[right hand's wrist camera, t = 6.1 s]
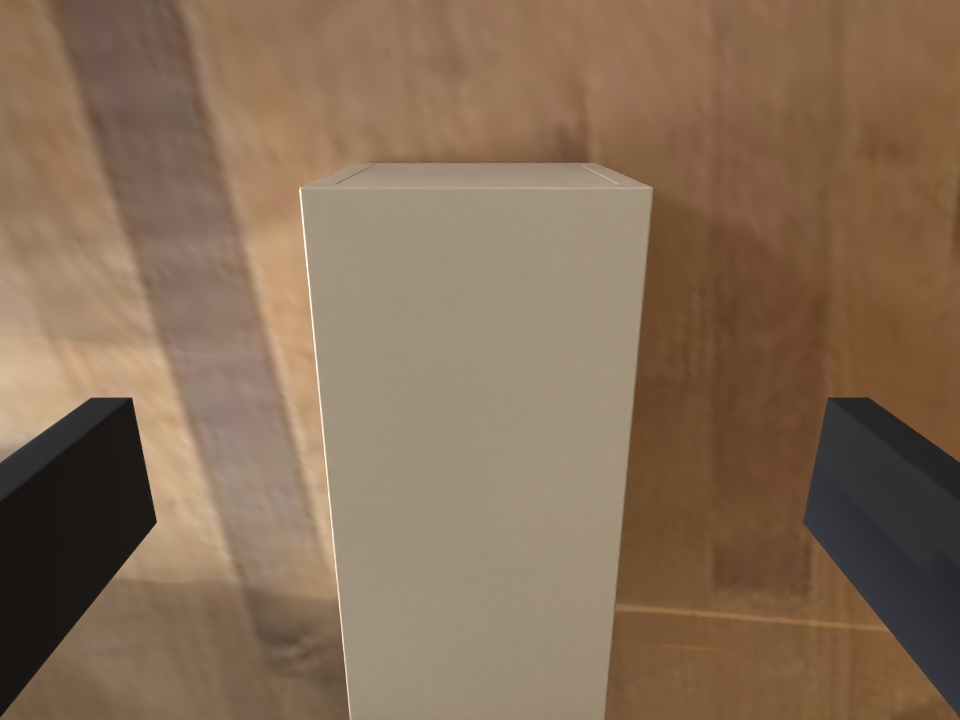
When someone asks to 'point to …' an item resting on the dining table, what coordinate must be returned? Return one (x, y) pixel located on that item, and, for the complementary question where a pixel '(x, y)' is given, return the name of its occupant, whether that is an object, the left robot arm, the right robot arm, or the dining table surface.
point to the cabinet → (477, 427)
